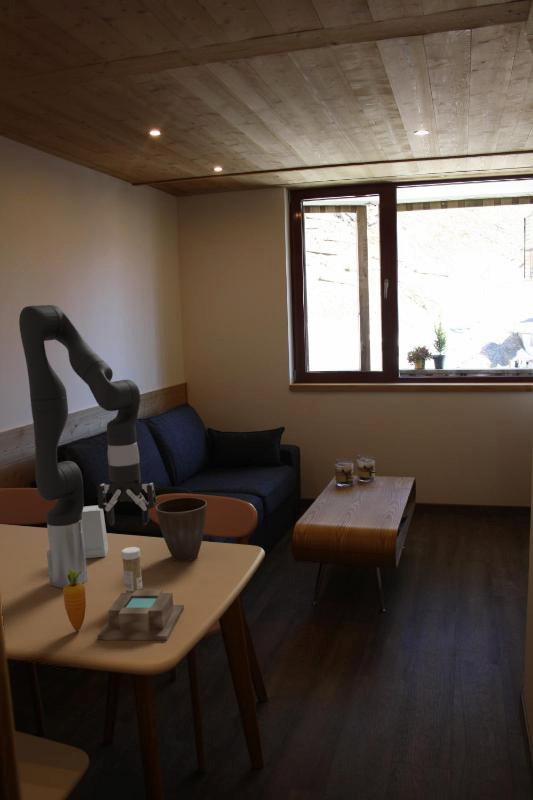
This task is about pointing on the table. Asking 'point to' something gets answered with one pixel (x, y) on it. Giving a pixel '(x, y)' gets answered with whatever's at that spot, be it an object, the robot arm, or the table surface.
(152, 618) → the socket block
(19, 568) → the table surface
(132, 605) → the teal square tile
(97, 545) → the skincare box
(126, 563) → the sprinkles bottle
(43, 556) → the table surface
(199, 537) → the plant pot
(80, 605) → the carrot
